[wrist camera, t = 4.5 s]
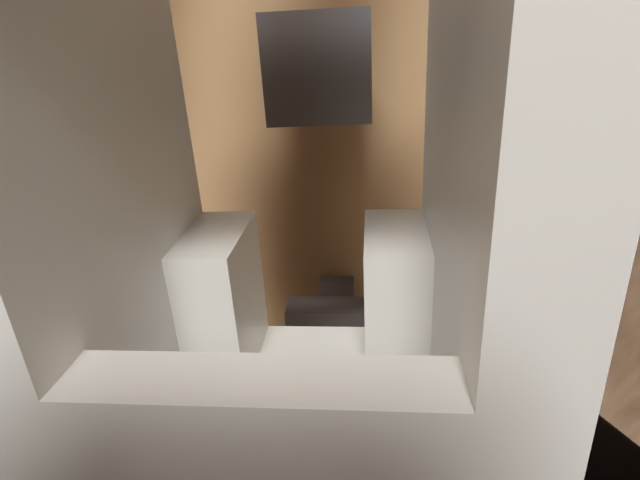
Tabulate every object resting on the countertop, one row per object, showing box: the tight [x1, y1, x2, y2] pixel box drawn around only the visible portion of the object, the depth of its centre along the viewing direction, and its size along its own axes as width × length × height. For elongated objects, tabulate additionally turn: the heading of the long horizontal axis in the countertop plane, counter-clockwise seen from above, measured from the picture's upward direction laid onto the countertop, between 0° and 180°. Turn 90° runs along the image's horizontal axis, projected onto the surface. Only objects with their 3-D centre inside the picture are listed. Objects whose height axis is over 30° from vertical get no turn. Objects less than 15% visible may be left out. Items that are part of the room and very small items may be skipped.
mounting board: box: [169, 0, 429, 327], centre depth 15 cm, size 10×20×5 cm, turn 3°
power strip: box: [0, 0, 640, 480], centre depth 8 cm, size 18×6×5 cm, turn 3°
